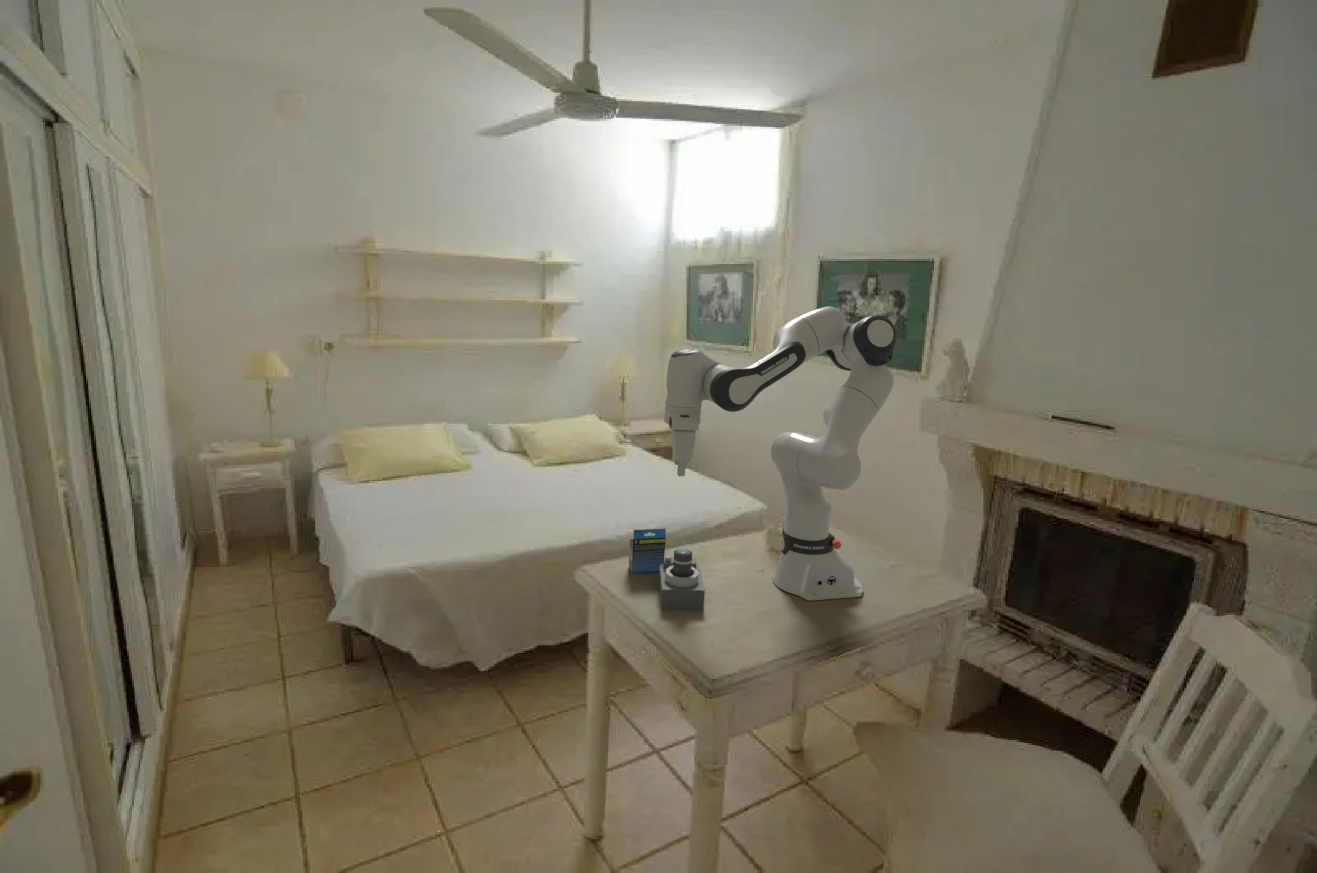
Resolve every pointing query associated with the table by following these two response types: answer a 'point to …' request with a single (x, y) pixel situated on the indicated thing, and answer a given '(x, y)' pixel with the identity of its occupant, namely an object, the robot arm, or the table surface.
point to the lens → (682, 563)
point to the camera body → (680, 587)
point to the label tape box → (647, 550)
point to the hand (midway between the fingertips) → (679, 469)
